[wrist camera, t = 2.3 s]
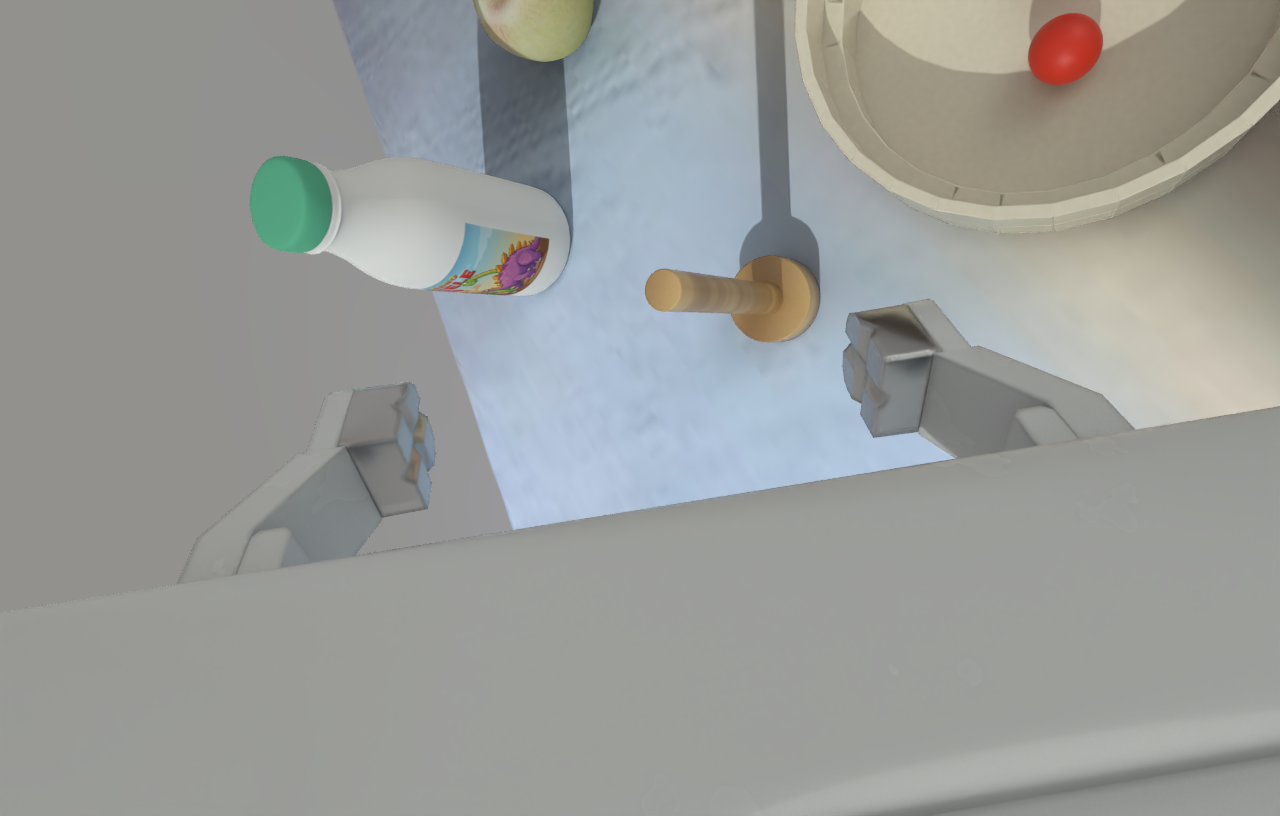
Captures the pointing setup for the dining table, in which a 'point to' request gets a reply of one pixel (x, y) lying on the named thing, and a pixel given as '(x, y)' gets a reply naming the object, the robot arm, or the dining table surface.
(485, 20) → the fruit
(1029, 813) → the robot arm
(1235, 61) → the bowl
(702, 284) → the wooden peg stand
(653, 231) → the dining table surface
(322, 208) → the milk bottle
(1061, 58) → the tomato
